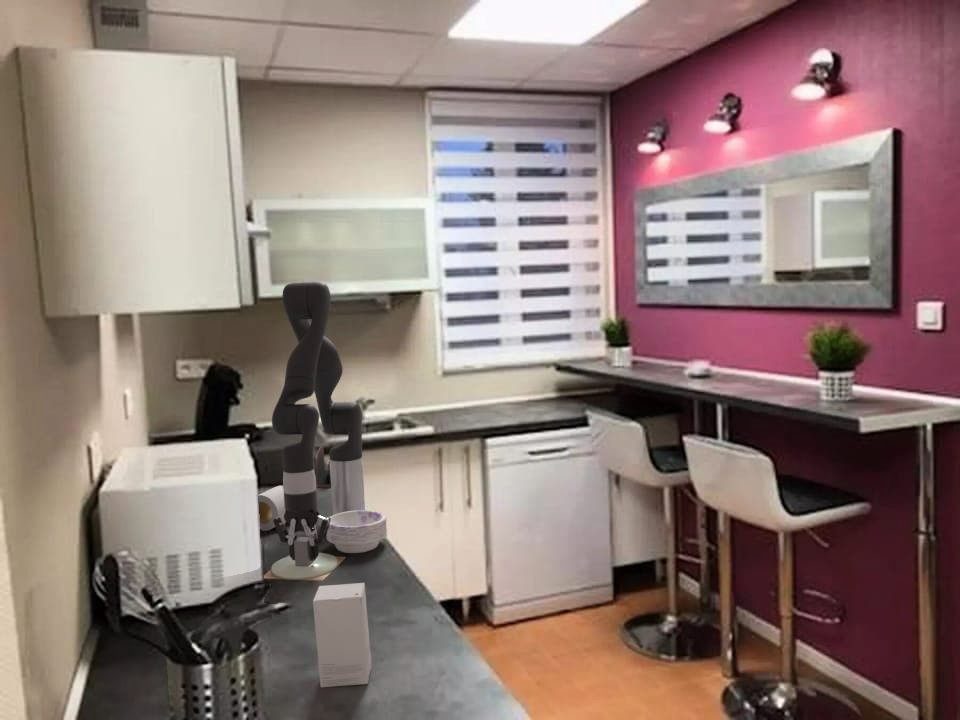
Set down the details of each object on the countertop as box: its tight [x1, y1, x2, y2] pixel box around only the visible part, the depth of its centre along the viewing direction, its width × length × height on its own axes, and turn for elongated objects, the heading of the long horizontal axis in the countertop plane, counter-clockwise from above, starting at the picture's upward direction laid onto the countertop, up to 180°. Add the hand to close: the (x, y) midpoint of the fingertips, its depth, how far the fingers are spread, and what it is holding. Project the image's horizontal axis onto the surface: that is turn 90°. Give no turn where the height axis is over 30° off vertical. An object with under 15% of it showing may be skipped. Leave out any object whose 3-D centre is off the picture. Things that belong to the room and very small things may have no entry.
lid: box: [271, 536, 338, 581], centre depth 186 cm, size 15×15×7 cm
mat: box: [263, 554, 347, 582], centre depth 186 cm, size 15×15×1 cm
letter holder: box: [313, 445, 331, 489], centre depth 268 cm, size 10×20×14 cm, turn 4°
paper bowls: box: [326, 509, 388, 554], centre depth 199 cm, size 15×15×8 cm
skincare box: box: [312, 582, 372, 688], centre depth 134 cm, size 8×7×16 cm
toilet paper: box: [257, 485, 286, 532], centre depth 221 cm, size 10×10×10 cm
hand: (304, 559), depth 186 cm, fingers open, 4 cm apart
